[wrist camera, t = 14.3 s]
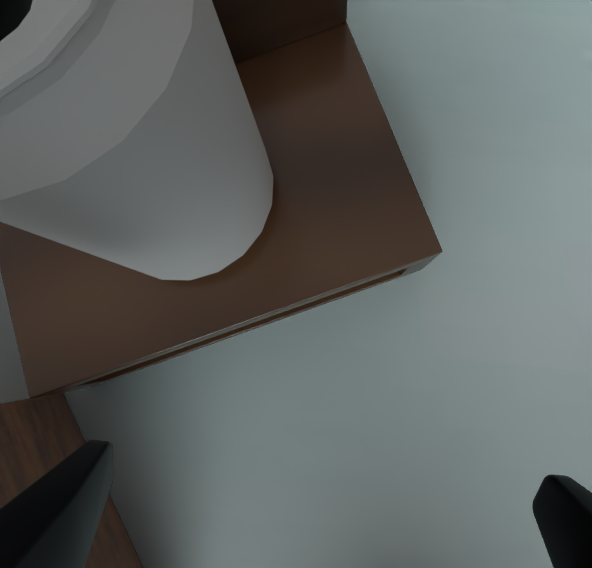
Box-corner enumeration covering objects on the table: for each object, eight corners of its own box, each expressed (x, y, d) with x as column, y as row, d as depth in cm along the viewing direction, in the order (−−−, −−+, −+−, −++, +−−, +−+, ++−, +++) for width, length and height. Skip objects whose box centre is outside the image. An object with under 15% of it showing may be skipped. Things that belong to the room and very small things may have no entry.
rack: (422, 269, 20) (476, 223, 13) (86, 388, 21) (-62, 416, 13) (338, 63, 22) (340, -89, 14) (33, 179, 23) (-123, 95, 15)
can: (111, 295, 18) (-354, 197, 6) (102, 130, 19) (-302, -239, 7) (286, 271, 17) (174, 109, 5) (267, 103, 18) (138, -348, 6)
